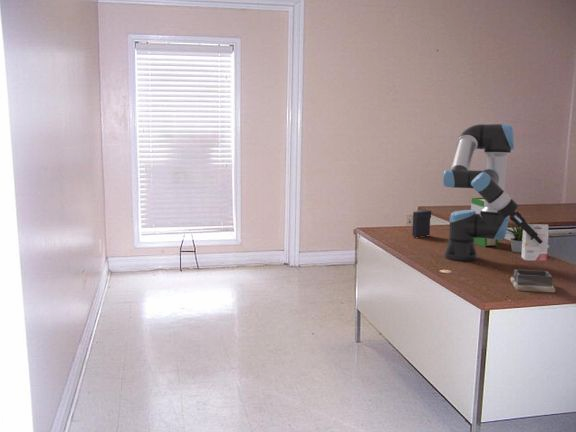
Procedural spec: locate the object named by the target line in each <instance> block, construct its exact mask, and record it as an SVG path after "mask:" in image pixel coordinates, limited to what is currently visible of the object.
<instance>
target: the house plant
mask: <svg viewBox="0 0 576 432" xmlns="http://www.w3.org/2000/svg"><path fill="white" fill-rule="evenodd" d="M511 221H512V220H511ZM525 222H526V223H527V224H530V221H528V222H527V221H525ZM512 223H513V224H514V226H513V225H512V224H510V227H511V229H509V228H507V232H506V235H508V233H509V234H510V235H511V236H512V238H510V245H511V246H510V247H511V252H513V253H521V254H522V239H523V229H522V228H521V227H520V226H518V225H517V224H516V223H515V222H513V221H512Z"/></svg>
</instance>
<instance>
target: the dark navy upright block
mask: <svg viewBox="0 0 576 432" xmlns="http://www.w3.org/2000/svg"><path fill="white" fill-rule="evenodd" d="M431 218H432V210H427V209H426V210H419V211H413V212H412V232H411V233H412V234H411V235H412V236H414V237H420V238H422V237H421V236H426V237H428V236H427V235H429V236H430V234H431V233H430V230H431V229H430V228H431ZM414 237H413V238H414Z"/></svg>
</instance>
